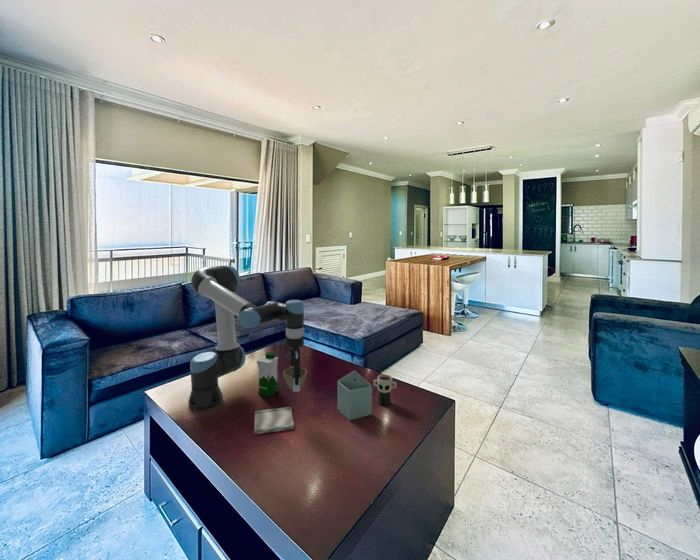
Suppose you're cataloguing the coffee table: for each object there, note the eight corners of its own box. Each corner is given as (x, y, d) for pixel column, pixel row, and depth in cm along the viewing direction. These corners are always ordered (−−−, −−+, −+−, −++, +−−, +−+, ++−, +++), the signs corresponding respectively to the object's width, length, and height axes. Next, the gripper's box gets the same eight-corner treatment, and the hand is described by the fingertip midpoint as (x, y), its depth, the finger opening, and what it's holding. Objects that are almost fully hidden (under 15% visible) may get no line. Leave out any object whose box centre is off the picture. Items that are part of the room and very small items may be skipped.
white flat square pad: (254, 434, 134) (254, 431, 134) (255, 413, 149) (255, 411, 149) (294, 428, 138) (294, 425, 138) (291, 409, 153) (291, 406, 153)
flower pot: (302, 393, 139) (302, 377, 138) (279, 391, 141) (279, 375, 140) (309, 383, 149) (309, 368, 148) (288, 381, 150) (288, 366, 149)
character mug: (371, 405, 157) (372, 379, 156) (374, 398, 164) (374, 373, 162) (395, 408, 155) (395, 381, 153) (396, 400, 162) (397, 375, 160)
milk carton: (280, 390, 172) (279, 353, 169) (270, 398, 164) (269, 359, 161) (266, 387, 175) (265, 350, 173) (255, 394, 167) (254, 356, 164)
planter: (331, 417, 147) (331, 374, 144) (337, 408, 155) (337, 367, 152) (367, 423, 142) (368, 379, 139) (371, 414, 150) (372, 372, 147)
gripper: (307, 344, 132) (307, 397, 135) (300, 328, 153) (300, 373, 156) (288, 345, 129) (288, 399, 133) (283, 329, 151) (284, 375, 154)
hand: (295, 385), depth 144 cm, fingers closed on flower pot, 10 cm apart
